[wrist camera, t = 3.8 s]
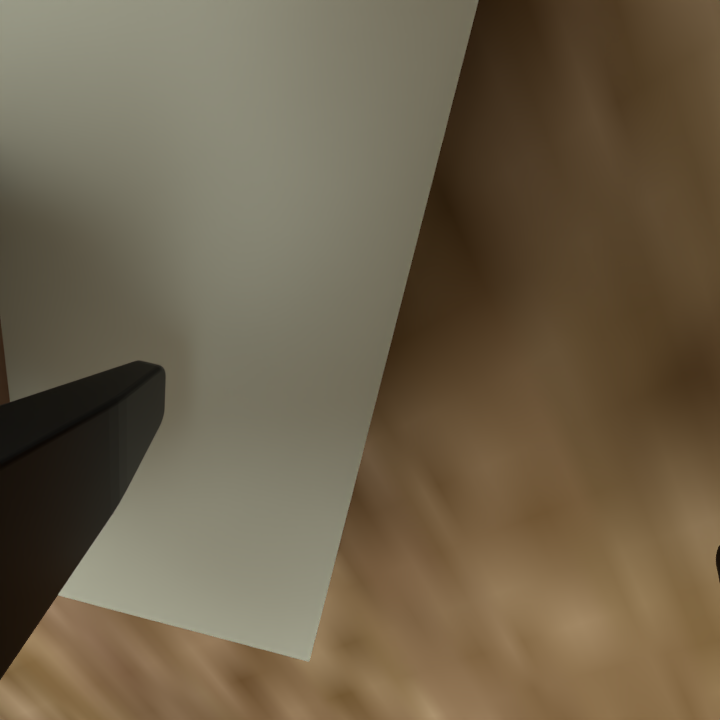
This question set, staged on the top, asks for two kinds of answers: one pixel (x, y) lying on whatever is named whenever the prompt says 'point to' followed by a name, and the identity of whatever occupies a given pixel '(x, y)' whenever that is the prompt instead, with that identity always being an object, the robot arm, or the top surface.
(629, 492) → the top surface
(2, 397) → the walnut tile
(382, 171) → the platform
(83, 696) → the top surface
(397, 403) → the top surface
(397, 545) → the top surface
